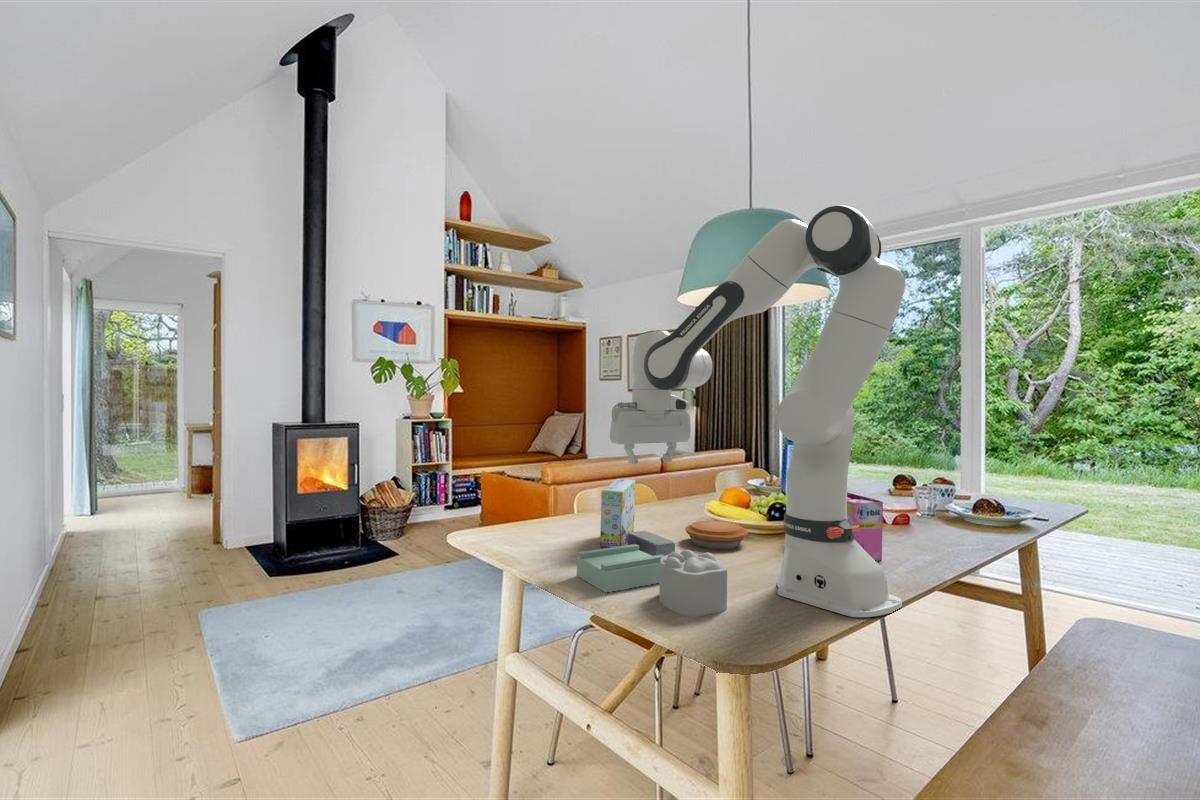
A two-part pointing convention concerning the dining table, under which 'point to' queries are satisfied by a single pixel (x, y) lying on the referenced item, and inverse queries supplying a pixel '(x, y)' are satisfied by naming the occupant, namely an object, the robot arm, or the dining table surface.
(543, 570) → the dining table surface
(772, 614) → the dining table surface
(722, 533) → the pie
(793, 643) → the dining table surface
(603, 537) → the snack box
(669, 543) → the block
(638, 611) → the dining table surface
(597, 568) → the stand
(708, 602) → the grey lumpy block
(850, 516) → the gum box
